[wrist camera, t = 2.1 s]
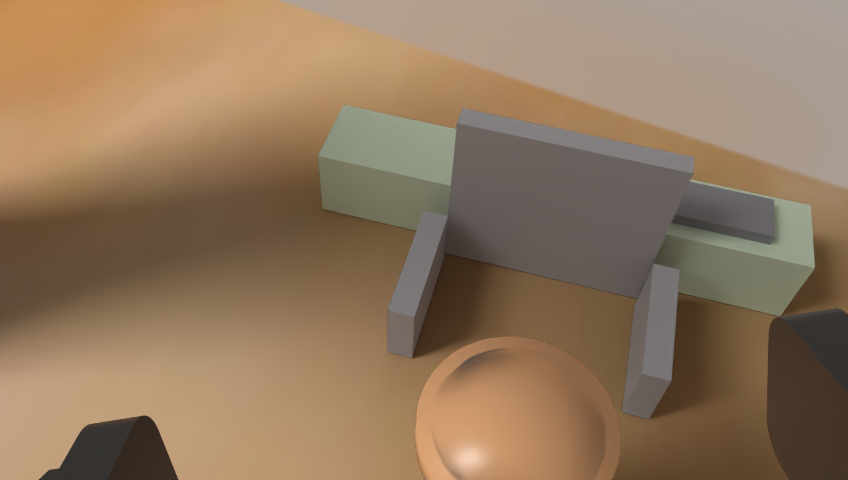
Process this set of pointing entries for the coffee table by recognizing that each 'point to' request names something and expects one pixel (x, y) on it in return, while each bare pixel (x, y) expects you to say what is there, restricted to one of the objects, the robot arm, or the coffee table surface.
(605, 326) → the coffee table surface
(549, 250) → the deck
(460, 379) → the chute tube
